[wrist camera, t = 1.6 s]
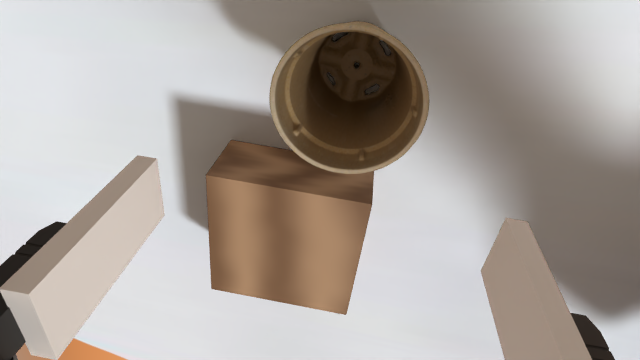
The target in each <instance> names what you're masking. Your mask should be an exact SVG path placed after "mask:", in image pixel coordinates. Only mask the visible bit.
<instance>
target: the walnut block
mask: <svg viewBox="0 0 640 360" xmlns="http://www.w3.org/2000/svg"><path fill="white" fill-rule="evenodd" d="M373 179H374V171H371V172H366V173H360V174H343V173H337V172H331V171H328V170H325V169H321V168H319V167H316V166H314V165H312V164H311V163H308V162H307V161H305V160H304V159H302V158H301V157H300V156H298V155H297V154H296V153H295V152H294V151H292V150H286V149H280V148H275V147H269V146H263V145H257V144H251V143H245V142H240V141H234V140H231V141H230V142H229V143H228V145H227V146H226V148H225V149H224V150H223V152H222V153H221V155H220V156H219V158H218V159H217V160H216V162H215V163H214V165H213V166H212V167H211V169H210V170H209V172H208V173H207V174H206V186H207V207H208V227H209V247H210V268H211V288H212V289H215V290H220V291H225V292H231V293H236V294H241V295H246V296H251V297H257V298H262V299H267V300H272V301H277V302H282V303H288V304H293V305H298V306H303V307H308V308H314V309H319V310H324V311H329V312H334V313H339V314H345V315H346V314H347V309H348V305H349V301H350V297H351V292H352V288H353V284H354V280H355V275H356V271H357V267H358V263H359V258H360V254H361V250H362V245H363V241H364V237H365V233H366V228H367V224H368V220H369V216H370V211H371V207H372V197H373Z"/></svg>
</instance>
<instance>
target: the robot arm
mask: <svg viewBox="0 0 640 360" xmlns="http://www.w3.org/2000/svg"><path fill="white" fill-rule="evenodd" d="M163 217H164V208H163V200H162V192H161V185H160V177H159V170H158V162H157V159H156V158H150V157H144V156H137V157H135V158H134V159H133V160H132V161H131V162H130V163H129V164H128V165H127V166H126V167H125V168H124V169H123V170H122V171H121V172H120V173H119V174H118V175H117V176H116V177H115V178H114V179H113V180H112V181H110V182H109V183H108V184H107V185H106V186H105V187H104V188H103V189H102V190H101V191H100V192H99V193H98V194H97V195H96V196H95V197H94V198H93V199H92V200H91V201H90V202H89V203H88V204H87V205H86V206H84V207H83V208H82V209H81V210H80V211H79V212H78V213H77V214H76V215H75V216H74V217H73V218H72V219H71V220H70V221H69V222H68V223H62V222H55V223H53V224H51V225H49V226H47V227H45V228H43V229H41V230H39V231H38V232H37V233H36V234H35V235H34V236H33V237H31V238H30V239H29V240H28V241H27V242H26V244H25V245H23V246H22V247H20V248H19V249H18V250H17V251H16V252H15V255H12V256H10V257H9V258H8V259H7V260H6V261H5V262H4V263H3V264H2V265H0V360H18V359H17V356H16V353H17V351H18V350H19V349H20V348H21V347H22V346H23V344H24V343H26V345H27V347H28V350H29V351H30V354H31V355H34V356H39V357H44V358H49V359H54V360H57V359H58V358H59V357H60V356H61V354H62V353H63V351H64V350H65V349H66V347H67V346H68V345H69V343H70V342H71V341H72V339H73V338H74V337H75V335H76V334H77V333H78V331H79V330H80V329H81V327H82V326H83V325H84V323H85V322H86V320H87V319H88V318H89V316H90V315H91V314H92V312H93V311H94V310H95V308H96V307H97V306H98V304H99V303H100V302H101V300H102V299H103V298H104V296H105V295H106V293H107V292H108V291H109V289H110V288H111V287H112V285H113V284H114V283H115V281H116V280H117V279H118V277H119V276H120V275H121V273H122V272H123V271H124V269H125V268H126V267H127V265H128V264H129V262H130V261H131V260H132V258H133V257H134V256H135V254H136V253H137V252H138V250H139V249H140V248H141V246H142V245H143V244H144V242H145V241H146V240H147V238H148V237H149V235H150V234H151V233H152V231H153V230H154V229H155V227H156V226H157V225H158V223H159V222H160V221H161V219H162V218H163ZM481 274H482V277H483V281H484V285H485V288H486V292H487V296H488V299H489V303H490V307H491V310H492V314H493V318H494V322H495V325H496V329H497V333H498V336H499V340H500V344H501V347H502V351H503V355H504V358H505V360H615V359H614V357H613V355H612V353H611V352H610V351H609V347H608V345H607V343H606V342H605V340H604V338H603V336H602V334H601V332H600V331H599V330H598V329H597V327H596V326H595V325H594V324H593V323H592V322H591V321H590V320H589V319H588V318H587V317H586V316H585V315H579V314H573V313H570V311H569V309H568V307H567V305H566V303H565V301H564V299H563V296H562V294H561V292H560V290H559V288H558V286H557V284H556V282H555V279H554V277H553V275H552V273H551V271H550V269H549V267H548V264H547V262H546V260H545V258H544V256H543V254H542V252H541V250H540V247H539V245H538V243H537V241H536V239H535V237H534V235H533V232H532V230H531V228H530V226H529V224H528V222H527V221H522V220H516V219H510V218H506V219H505V221H504V223H503V225H502V227H501V229H500V231H499V234H498V236H497V238H496V240H495V242H494V244H493V246H492V248H491V250H490V253H489V255H488V257H487V259H486V261H485V263H484V265H483V267H482V270H481Z"/></svg>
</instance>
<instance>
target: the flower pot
mask: <svg viewBox="0 0 640 360" xmlns="http://www.w3.org/2000/svg"><path fill="white" fill-rule="evenodd" d="M340 32H348V33H347V35H345V36H343V37H342V38H340V39H339V40H337V41H336V42H334V41H333V40H332V38H333V37H334V35H335V34H336V33H340ZM380 40H382V41H383V42H384V43H385V44H386V45H387V46H388V48H389V49H390V51H391V54H390V55H389V56H387V55H385V53H384V50H383V48H382V46H381V45H380V43H379V41H380ZM355 62H357V63H359V67H358V68H355V67H354V64H355ZM328 72H329V73H330V74H331V76H332V77H334V81H335V82H336V83H335V85H333V84H332V83H331V81H330V80H329V78H328V76H327V73H328ZM375 84H378V85H379V89H378V90H377V91H375V92H371V93H370V94H365V90H366V89H368V88H370V87H372V86H374V85H375ZM270 109H271V114H272V118H273V121H274V124H275V126H276V128H277V130H278V132H279V134H280V136H281V137H282V138H283V140H284V142H285V143H286V144H287V145H288V146H289V147H290V148H291V149H292V150H293V151H294V152H295V153H296V154H297V155H298V156H300V157H301V158H302V159H304V160H305V161H307V162H308V163H311V164H312V165H314V166H316V167H319V168H321V169H325V170H328V171H331V172H337V173H343V174H360V173H366V172H371V171H375V170H378V169H381V168H383V167H385V166H387V165H389V164H391V163H393V162H394V161H396V160H398V159H399V158H400V157H402V156H403V155H404V154H405V153H406V152H407V151H408V150H409V149H410V148H411V147H412V145H413V144H414V143H415V142H416V140H417V139H418V138H419V136H420V134H421V133H422V130H423V128H424V126H425V123H426V120H427V116H428V110H429V92H428V86H427V82H426V79H425V76H424V73H423V71H422V69H421V66H420V64H419V63H418V61H417V60H416V58H415V57H414V55H413V54H412V53H411V52H410V51H409V49H408V48H407V47H406V46H405V45H404V44H403V43H401V42H400V41H399V40H398V39H396V38H395V37H393V36H392V35H390V34H388V33H386V32H385V31H383V30H382V29H381V28H379V27H377V26H375V25H373V24H371V23H367V22H360V21H354V22H348V23H339V24H333V25H329V26H325V27H322V28H319V29H316V30H314V31H312V32H310V33H308V34H306V35H305V36H303V37H302V38H301V39H299V40H298V41H297V42H296V43H295V44H293V45H292V46H291V47H290V48H289V50H288V51H287V52H286V53H285V54H284V56H283V57H282V58H281V60H280V62H279V64H278V65H277V67H276V70H275V72H274V75H273V77H272V82H271V87H270Z"/></svg>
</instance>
